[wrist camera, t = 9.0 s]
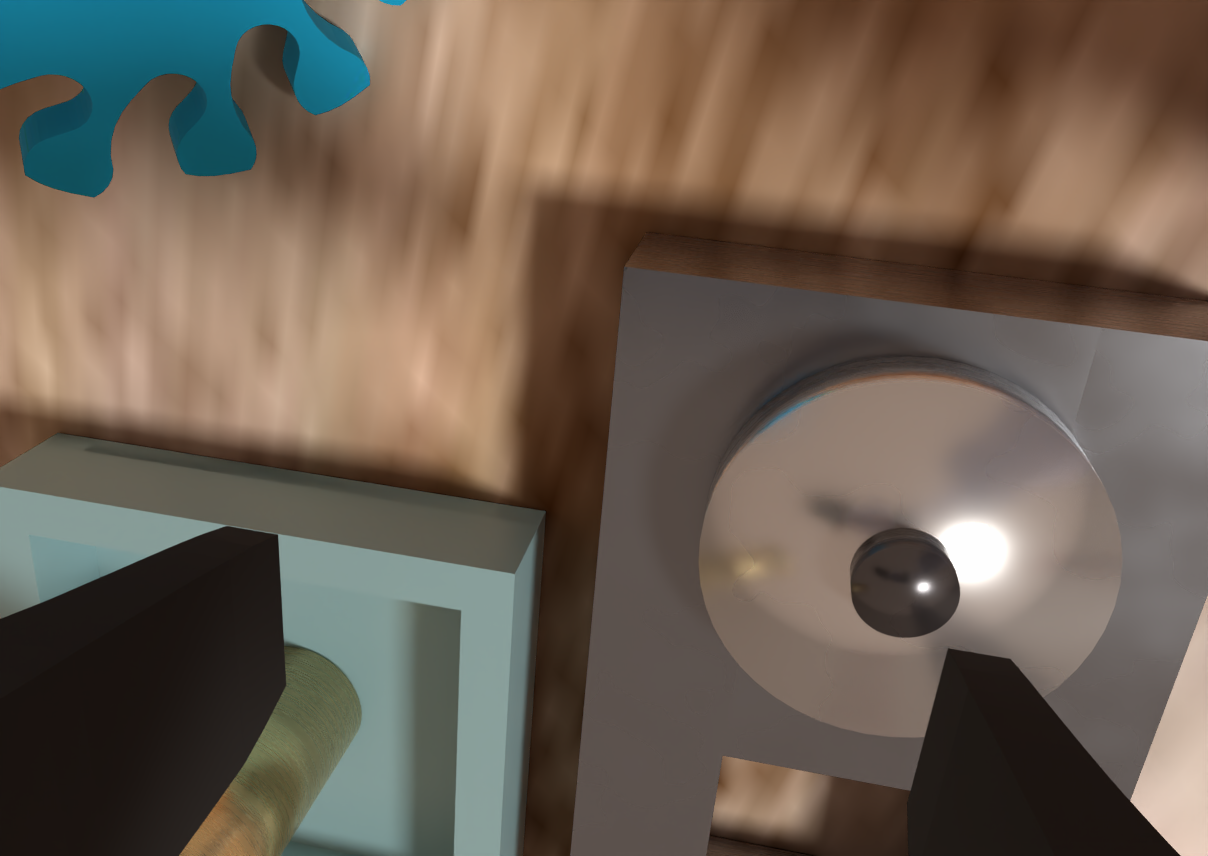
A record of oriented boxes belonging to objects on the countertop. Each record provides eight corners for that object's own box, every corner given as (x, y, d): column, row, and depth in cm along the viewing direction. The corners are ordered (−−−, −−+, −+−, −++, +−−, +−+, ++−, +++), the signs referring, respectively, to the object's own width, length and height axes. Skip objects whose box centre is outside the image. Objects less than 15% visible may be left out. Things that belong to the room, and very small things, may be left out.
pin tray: (546, 511, 21) (514, 574, 19) (520, 899, 26) (492, 987, 24) (57, 433, 23) (-26, 482, 20) (114, 812, 27) (51, 887, 25)
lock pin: (419, 682, 23) (211, 1039, 15) (352, 806, 25) (139, 1179, 17) (242, 586, 23) (-57, 896, 15) (189, 718, 25) (-100, 1053, 17)
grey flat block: (1235, 304, 17) (1357, 398, 13) (1001, 985, 24) (1038, 1178, 20) (646, 232, 19) (604, 298, 15) (580, 896, 25) (539, 1061, 22)
